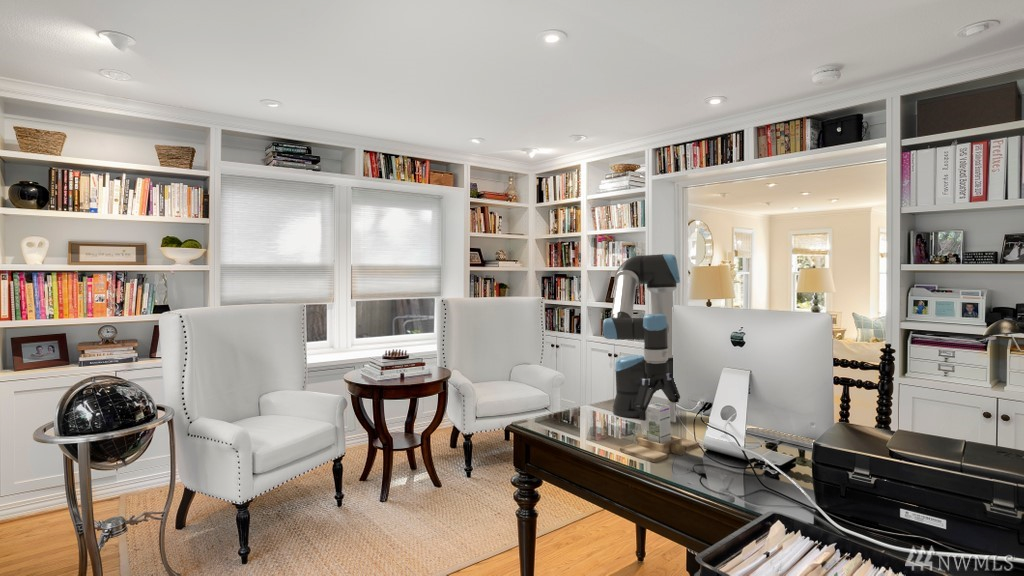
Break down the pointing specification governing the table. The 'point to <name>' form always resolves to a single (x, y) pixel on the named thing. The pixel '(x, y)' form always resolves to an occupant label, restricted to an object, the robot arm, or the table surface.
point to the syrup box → (659, 423)
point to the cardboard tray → (658, 448)
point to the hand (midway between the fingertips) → (658, 425)
